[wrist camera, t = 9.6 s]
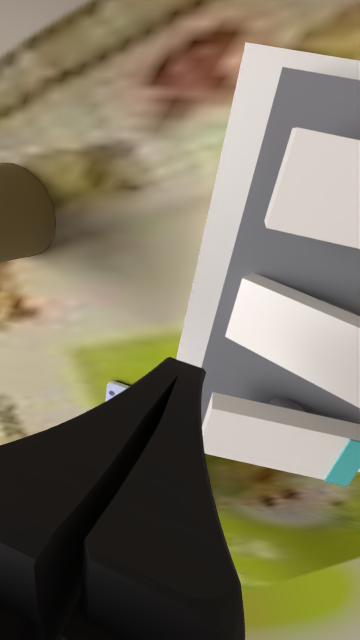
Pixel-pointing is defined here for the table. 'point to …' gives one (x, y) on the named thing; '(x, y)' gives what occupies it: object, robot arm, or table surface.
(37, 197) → the cork
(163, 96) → the table surface
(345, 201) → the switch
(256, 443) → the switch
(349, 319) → the middle switch
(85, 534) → the robot arm
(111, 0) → the table surface
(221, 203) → the switch board
